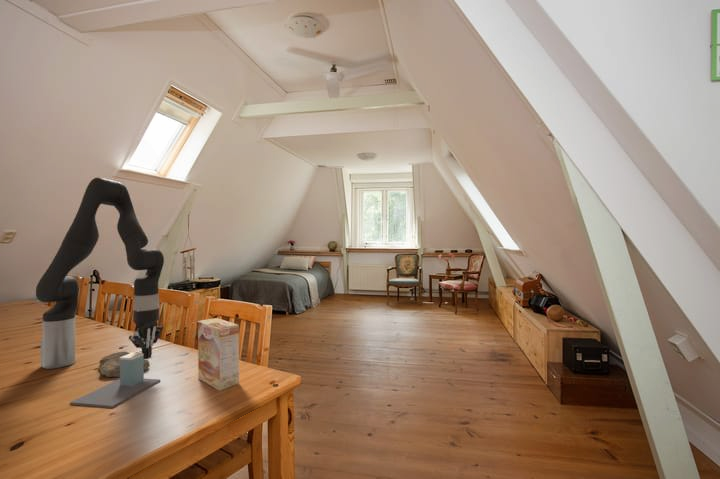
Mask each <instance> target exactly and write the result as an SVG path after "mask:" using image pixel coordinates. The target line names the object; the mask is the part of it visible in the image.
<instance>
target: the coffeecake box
mask: <svg viewBox="0 0 720 479" xmlns="http://www.w3.org/2000/svg"><path fill="white" fill-rule="evenodd" d="M239 328H240V325H239V324H237V323H234V322H231V321H227V320H225V319H221V318H218V317H216V318H215V317H214V318H209V319H202V320H198V321H197V332H198V333H197V338H198V340H197V341H198V342H197V346H198V347H197V348H198V349H197V350H198V351H197V352H198V353H197V355H198V356H197V357H198V359H197V360H198V362H197V363H198V365H197V366H198V368H197V370H198V373H197V375H198V376H197V377H198V380H201V381H202V382H204V383H205V384H207V385H209V386H211V387H212V388H214V389H216V390H218V391H219V392H220V391H223V390H227V389H228V388H231V387H234V386H237V385H240V351H239V350H240V346H239V345H240V340H239V338H240V335H239V333H240V331H239V330H240V329H239Z"/></svg>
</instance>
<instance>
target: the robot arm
mask: <svg viewBox="0 0 720 479" xmlns="http://www.w3.org/2000/svg"><path fill="white" fill-rule="evenodd" d="M131 199H132V198H131V196H130V193H129V190H128V188H127V187H126V185H125V184H123V183H122V182H119V181H116V180H112V179H109V178H104V177H94V178H93V179H91V180H90V181H89V183H88V185H87V187H86V188H85V191H84V193H83V196H82V199H81V202H80V206H79V208H78V210H77V211H76V212H77V213H76V215H75V217H74V219H73V220H72V223H71V225H70V227H69V228H68V230H67V231H66V233H65V236H64V238H63V239H62V242H61V245H60V247H59V249H58V250H57V252H56V254H55V256H54V258H53V259H52V261H51V263H50V264H49V266H48V268H46V270H45V271H44V273H43V275H42V276H41V277H40V279H39V281H38V283H37V285H36V288H35V297H36V299H37V300H38V301H39V302H41V303H46V304H47V303H49V304H50V303H55V302H56V303H55V304H54V305H53V306H52V308H49V309H48V310H47V311H46V310H45V312H44V313H43V314H42V340H41V341H40V367H42V368H43V369H44V370H45V369H46V370H49V369H51V370H52V369H58V368H59V369H60V368H63V367H64V368H65V367H67V366H70V365H72V364H75V363H76V312H77V310H78V306H79V305H78V304H79V302H78V301H79V284H78V280H77V279H76V278H75V277H74V276H71V275H68V274H69V273H70V272H71V271H72V270H73V269H74V268H76V267H77V266H78V265H79V264H81V263H82V262H83V261H84V260H86V259H87V258H89V256H90V255H91V254H92V252H93V251H94V249H95V247H96V245H97V243H98V241H99V237H100V232H99V228H98V225H97V223H96V222H97V221H96V214H97V212H98V210H99V208H100V206H101V205H104V206H105V205H106V206H111V207H114V208H115V210H117V212H118V214H119V218H118V220H117V226H116V229H117V232H118V236H119V237H120V240H121V242H122V243H123V244H124V247H125V252H126V253H125V255H126V262H127V264H128V266H129V267H130V268H131V269H132V270H134V271H145V270H146V271H145V274H144V275H142V276H140V277H137V278H135V280H134V281H133V283H134V284H133V304H132V305H133V306H132V307H133V313H132V316H133V318H132V319H133V320H132V321H133V323H134V324H135V328H134V332H133V334H132V335H129V336H128V339H129V341H130V342H131V343H132V344H133V346H134V347H135V348H136V349H140V350H141V353H143V356H144V359H145V360H149V359H151V358H152V354H153V353H152V350H153V348H152V347H153V346H154V345H155V344H156V343H158V340H159V339H160V336H161V333H162V331H163V328H164V327H163V326H159V323H158V321H159V320H160V297H159V296H160V295H159V281H160V278H161V274H162V271H163V267H164V263H165V258H164V257H165V256H164V254H163V253H162V251H161V250H160V249H158V248H147V249H146V248H145V247H146V246H147V245H148V244H149V238H148V236H147V235H146V233H145V230H144V228H143V227H142V225H140V222H139V220H138V218H137V215H136V212H135V209H134V206H133V201H132V200H131ZM143 248H144V249H143Z"/></svg>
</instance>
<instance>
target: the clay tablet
mask: <svg viewBox="0 0 720 479" xmlns="http://www.w3.org/2000/svg"><path fill="white" fill-rule="evenodd" d="M130 353H131V352H128V351H120V352H115V353H112V354H109V355H105V356H103V357H102V358H101V359H100V360H99V365H98V370H99V371H100V373H101V375H103V376H106V377H107V378H111V377H112V378H113V377H114V378H115V377H117V378H118V377H119V378H120V357H122V356H125V355H127V354H130ZM150 366H151V365H150V361H149V359H144V371H148V370H149V368H150Z"/></svg>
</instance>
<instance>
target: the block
mask: <svg viewBox="0 0 720 479" xmlns="http://www.w3.org/2000/svg"><path fill="white" fill-rule="evenodd" d="M129 353H130V354H127V355H125V356H122V357H120V377H119V379H120V386H131V387H133V386H135V385H136V384H138V383H140V382H142V381H144V376H145V375H144V373H145V372H144V356H143V353H142V352H141V353H140V352H129Z"/></svg>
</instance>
